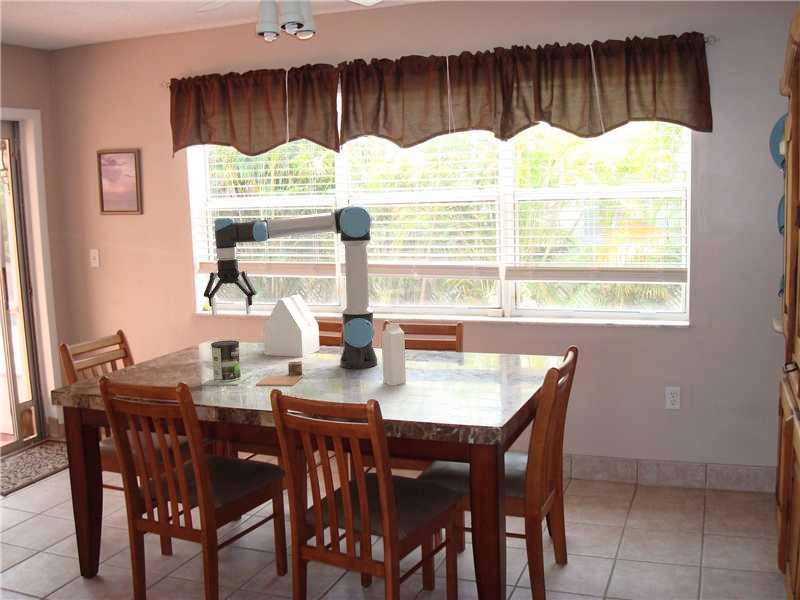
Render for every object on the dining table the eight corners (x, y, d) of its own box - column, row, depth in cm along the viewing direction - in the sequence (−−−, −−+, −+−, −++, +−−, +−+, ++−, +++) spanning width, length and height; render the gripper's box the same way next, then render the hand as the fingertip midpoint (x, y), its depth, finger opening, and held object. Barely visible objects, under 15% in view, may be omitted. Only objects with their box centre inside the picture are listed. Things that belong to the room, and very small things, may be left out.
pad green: (251, 376, 304) (250, 375, 304) (237, 385, 290) (237, 383, 290) (216, 376, 306) (216, 374, 306) (202, 385, 293) (202, 383, 293)
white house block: (319, 350, 353) (316, 295, 350) (302, 357, 339) (299, 299, 336) (282, 348, 360) (279, 294, 357) (264, 354, 346) (261, 298, 343)
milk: (405, 383, 286) (404, 323, 283) (392, 385, 282) (391, 325, 279) (396, 380, 291) (394, 321, 288) (382, 382, 287) (381, 323, 284)
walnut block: (302, 373, 307) (301, 361, 306) (301, 376, 302) (301, 363, 301) (289, 374, 306) (288, 361, 306) (288, 377, 302) (288, 364, 301)
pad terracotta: (303, 377, 301) (303, 375, 300) (292, 386, 287) (292, 384, 287) (268, 376, 303) (268, 375, 303) (255, 385, 289) (255, 384, 289)
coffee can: (245, 376, 303) (243, 340, 301) (234, 382, 293) (232, 345, 291) (220, 375, 305) (218, 340, 303) (208, 382, 295) (206, 345, 293)
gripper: (262, 257, 298) (266, 312, 301) (199, 259, 302) (204, 313, 304) (255, 258, 291) (259, 315, 293) (191, 261, 294) (196, 316, 297)
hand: (231, 314), depth 299 cm, fingers open, 13 cm apart
